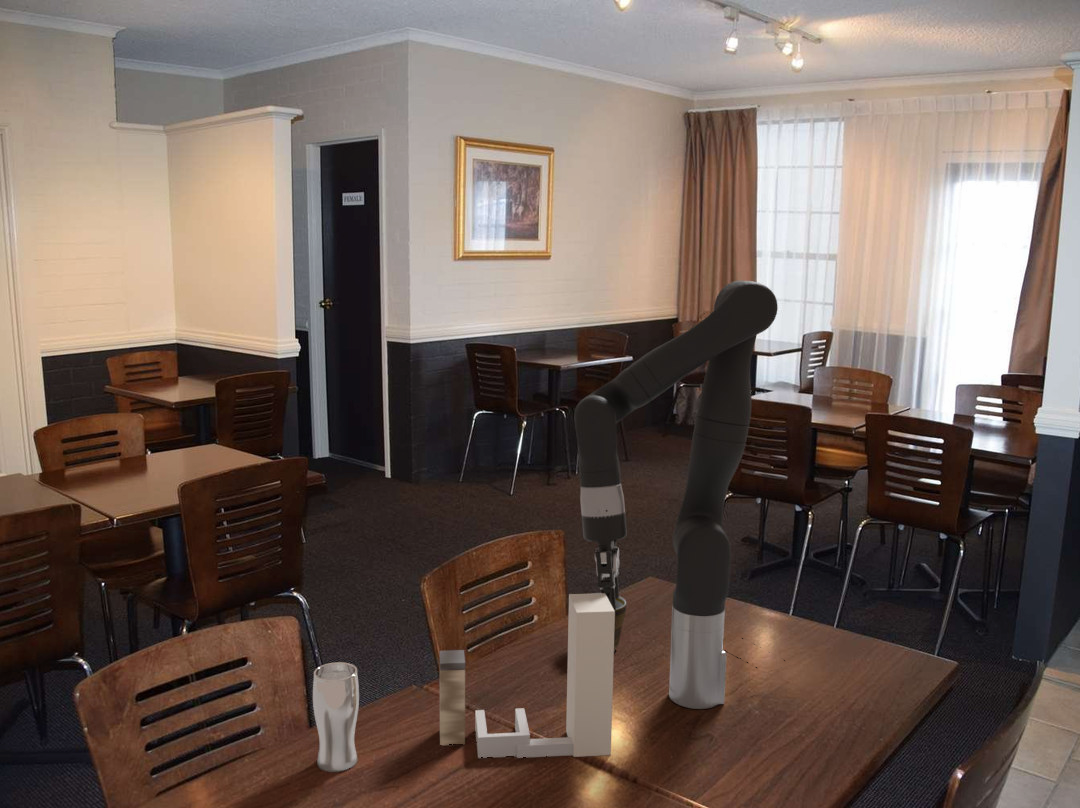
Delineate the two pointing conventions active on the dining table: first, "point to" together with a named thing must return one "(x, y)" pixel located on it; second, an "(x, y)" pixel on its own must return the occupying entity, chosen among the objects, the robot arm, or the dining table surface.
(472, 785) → the dining table surface
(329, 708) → the beer glass
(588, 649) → the white socket stand
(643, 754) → the dining table surface
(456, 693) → the rail end
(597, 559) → the robot arm
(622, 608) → the ceramic cup
